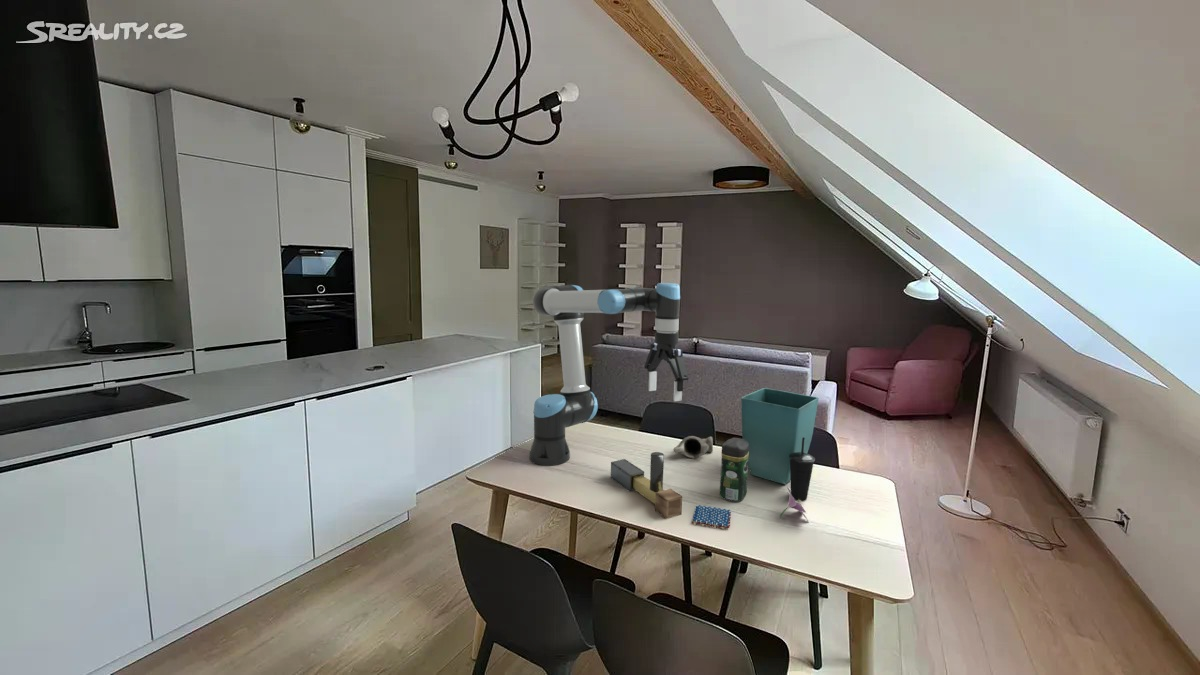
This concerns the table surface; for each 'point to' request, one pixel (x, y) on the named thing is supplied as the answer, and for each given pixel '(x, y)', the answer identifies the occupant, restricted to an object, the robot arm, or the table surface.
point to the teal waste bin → (776, 430)
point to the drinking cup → (800, 473)
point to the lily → (794, 504)
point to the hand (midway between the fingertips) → (664, 395)
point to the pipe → (694, 446)
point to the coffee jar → (734, 469)
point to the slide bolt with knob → (651, 478)
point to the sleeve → (624, 473)
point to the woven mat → (712, 517)
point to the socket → (668, 503)
